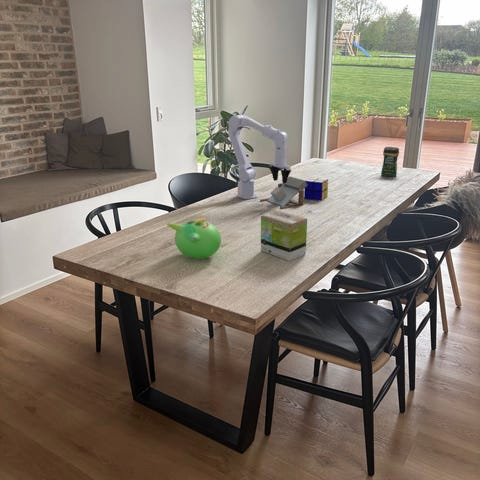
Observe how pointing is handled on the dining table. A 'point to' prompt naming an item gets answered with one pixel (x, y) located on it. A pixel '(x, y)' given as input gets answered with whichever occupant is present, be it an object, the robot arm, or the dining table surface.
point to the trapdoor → (289, 190)
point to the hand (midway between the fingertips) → (279, 181)
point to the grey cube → (278, 194)
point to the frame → (300, 202)
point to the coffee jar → (390, 161)
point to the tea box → (283, 235)
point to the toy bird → (196, 238)
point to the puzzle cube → (316, 189)
